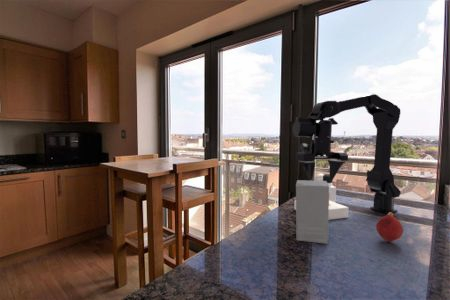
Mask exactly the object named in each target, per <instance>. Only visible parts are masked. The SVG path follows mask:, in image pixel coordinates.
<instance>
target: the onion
mask: <svg viewBox="0 0 450 300" xmlns="http://www.w3.org/2000/svg"><path fill="white" fill-rule="evenodd" d="M394 215H395V214H394V212H392V213H386V215H384V216H382V217H381V218H379V219H378V220H377V222H376V226H375V228H376V231H377V232H376V233H378V235H379V236H380V238H382V239H383V240H385V241H386V242H387V243H392V242H394V241H398V240H399V239H400V238H401V237H402V236H403V232H404V228H403V225H402V223H401V222H400V220H398V218H396V217H394Z"/></svg>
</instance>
